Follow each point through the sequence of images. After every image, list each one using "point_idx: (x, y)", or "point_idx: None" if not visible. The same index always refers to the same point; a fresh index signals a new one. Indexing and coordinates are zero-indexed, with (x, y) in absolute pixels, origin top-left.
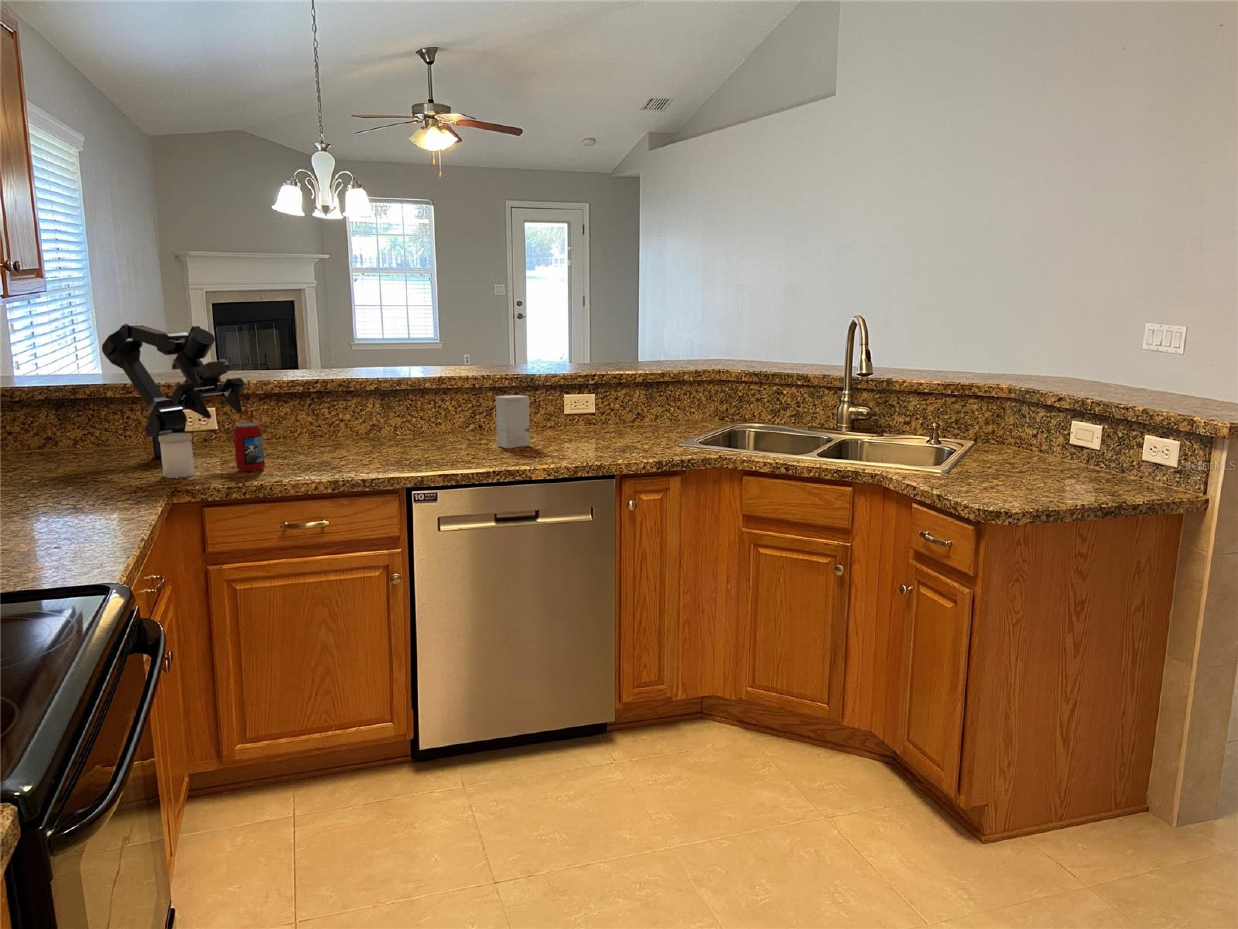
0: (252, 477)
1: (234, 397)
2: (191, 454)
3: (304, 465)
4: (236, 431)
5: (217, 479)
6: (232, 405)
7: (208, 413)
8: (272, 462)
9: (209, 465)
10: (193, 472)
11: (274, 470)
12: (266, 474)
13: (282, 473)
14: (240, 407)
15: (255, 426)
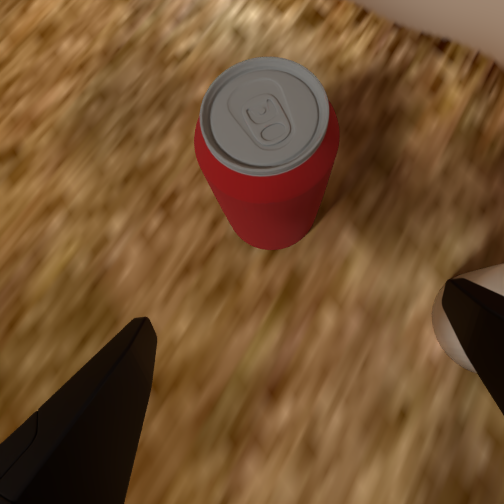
0: None
1: (47, 470)
2: (495, 272)
3: (137, 143)
4: (337, 122)
5: (416, 162)
6: (118, 471)
7: (484, 289)
8: (161, 262)
9: (325, 404)
10: None
11: None
12: None
13: None
14: (115, 342)
15: (248, 67)
